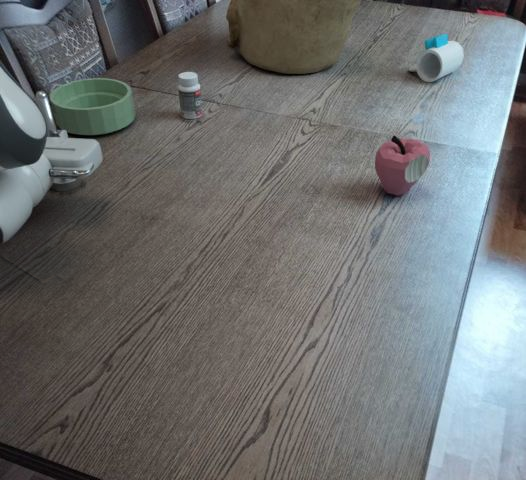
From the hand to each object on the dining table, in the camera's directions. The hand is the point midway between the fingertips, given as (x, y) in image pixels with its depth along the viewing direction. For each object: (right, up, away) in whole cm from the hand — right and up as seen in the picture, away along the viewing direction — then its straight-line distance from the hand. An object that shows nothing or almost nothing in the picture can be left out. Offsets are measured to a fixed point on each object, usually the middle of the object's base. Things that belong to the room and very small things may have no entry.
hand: (54, 133), depth 95 cm
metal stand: (0, -7, +6) cm, 9 cm away
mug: (+79, +33, +44) cm, 96 cm away
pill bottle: (+20, +14, +27) cm, 36 cm away
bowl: (0, +12, +24) cm, 27 cm away
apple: (+60, -9, +5) cm, 61 cm away
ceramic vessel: (+43, +42, +53) cm, 80 cm away
